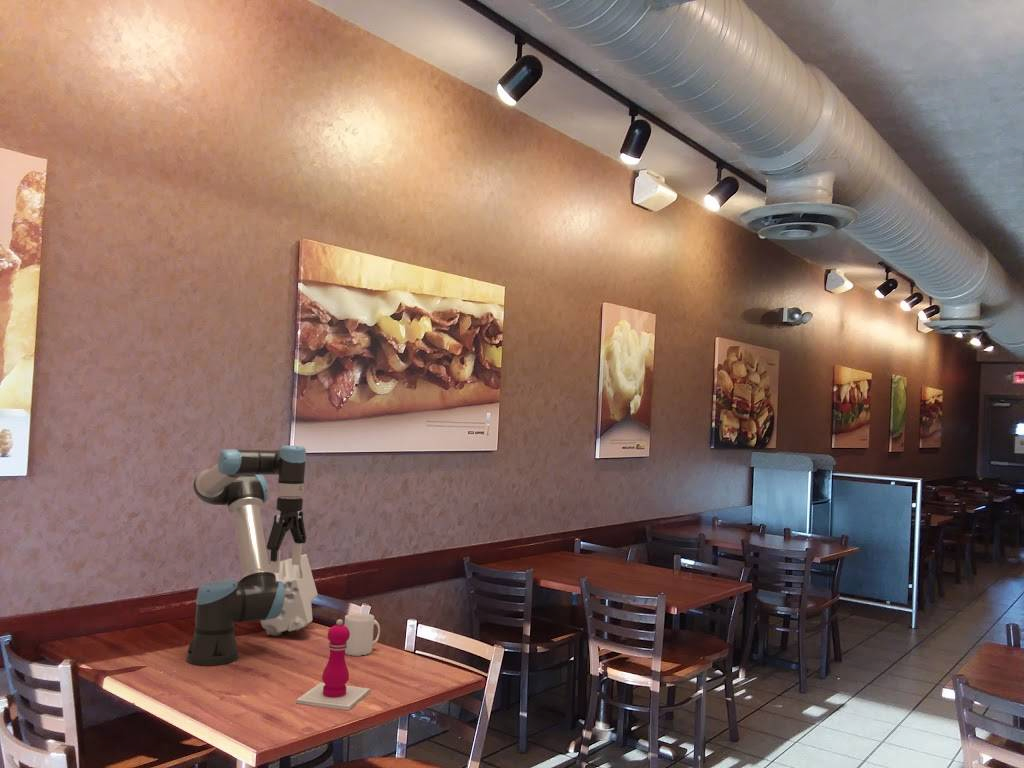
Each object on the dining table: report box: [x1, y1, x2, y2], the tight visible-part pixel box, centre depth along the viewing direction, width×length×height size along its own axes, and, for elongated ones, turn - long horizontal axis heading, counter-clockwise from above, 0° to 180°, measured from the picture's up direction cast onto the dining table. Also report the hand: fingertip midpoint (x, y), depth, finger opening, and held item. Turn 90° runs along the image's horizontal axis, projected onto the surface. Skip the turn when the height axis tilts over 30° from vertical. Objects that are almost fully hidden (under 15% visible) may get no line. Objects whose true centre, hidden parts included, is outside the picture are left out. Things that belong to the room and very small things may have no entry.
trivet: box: [295, 682, 371, 711], centre depth 220 cm, size 15×15×1 cm
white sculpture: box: [259, 553, 319, 637], centre depth 283 cm, size 20×16×25 cm
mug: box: [344, 612, 381, 657], centre depth 264 cm, size 10×12×12 cm
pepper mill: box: [321, 618, 350, 697], centre depth 220 cm, size 7×7×20 cm
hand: (285, 568), depth 240 cm, fingers open, 13 cm apart
